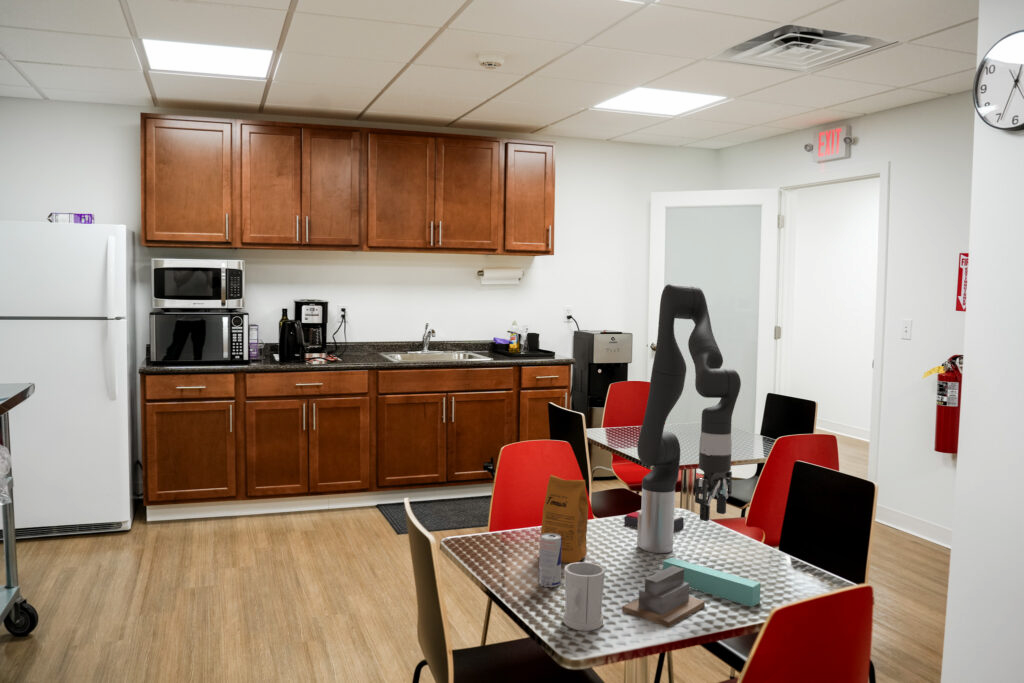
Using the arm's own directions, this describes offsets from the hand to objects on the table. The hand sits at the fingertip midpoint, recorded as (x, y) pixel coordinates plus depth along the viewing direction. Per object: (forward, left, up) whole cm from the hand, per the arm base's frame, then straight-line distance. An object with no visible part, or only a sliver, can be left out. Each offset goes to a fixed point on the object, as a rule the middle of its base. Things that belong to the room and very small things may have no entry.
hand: (712, 516), depth 187 cm
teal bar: (0, 0, -19) cm, 19 cm away
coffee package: (-40, -7, -19) cm, 45 cm away
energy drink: (-30, -25, -18) cm, 43 cm away
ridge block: (-2, -18, -18) cm, 26 cm away
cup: (-10, -38, -19) cm, 44 cm away
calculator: (-38, +36, -19) cm, 56 cm away
